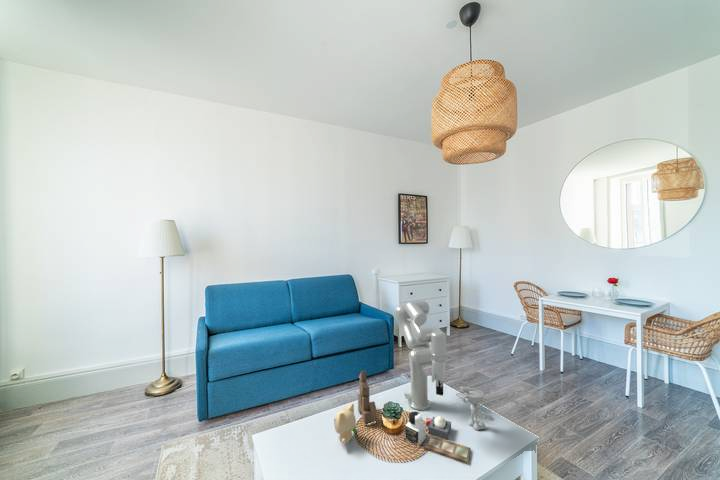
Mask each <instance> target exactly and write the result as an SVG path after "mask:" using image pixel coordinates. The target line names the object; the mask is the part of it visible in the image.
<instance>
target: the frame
mask: <svg viewBox="0 0 720 480" xmlns="http://www.w3.org/2000/svg"><path fill="white" fill-rule="evenodd" d="M429 437H430V434H429V433H426V439H425V440H424V442H423V446H422V447H421V448H425V446H426V444H427V442H428V439H429ZM425 449H426V448H425Z"/></svg>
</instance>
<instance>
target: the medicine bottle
mask: <svg viewBox="0 0 720 480" xmlns="http://www.w3.org/2000/svg"><path fill="white" fill-rule="evenodd" d="M426 428H427V427H426V423H424V422H423V416H422V414H421V413H420V412H418V411H411V412H410V413H408V422H406V424H405V430H404V433H405V434H406V439H407V440H409V441H411V442H412V443H411V442H410V443H411V444H413V443H414V444H413V445H415V444H416V445H418V446H419V447H420V445H422V443H424V442H425V441H426V438H427V436H426V434H427V433H426V432H427V429H426ZM406 439H405V440H406ZM407 440H406V441H407ZM409 441H408V442H409Z"/></svg>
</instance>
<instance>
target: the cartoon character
mask: <svg viewBox="0 0 720 480" xmlns="http://www.w3.org/2000/svg"><path fill="white" fill-rule="evenodd" d="M460 390H461V391H463V393H464V394H463V393H461V392H457V393H455V395H456V396H458V397H459V398H460V399H462V401H463V403H464V404H465V403H466V404H470V405H469V406H470V414H471V415H470V419H469V420H468V424H469V426H472V427H473V428H474V429H475V430H477V431H480V430H486V428H487V426H486V424H485V422H483V421H481V420H480V418H478V416H479V413H481V414H482V415H483V416H484V418H485V419H486V420H488V422H493V421H496V420H495V417H494V416H493V415H491V414H488V413H487V412H486V411H483V410H482V409H481V408H480V407H478V405H479V404H481V403H482V402H483V401H484V399H485V393H484V392H483V391H482V390H480V389H478V388H473V387H464V386H460Z"/></svg>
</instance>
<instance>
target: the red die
mask: <svg viewBox="0 0 720 480" xmlns="http://www.w3.org/2000/svg"><path fill="white" fill-rule="evenodd" d="M425 421H426V422H425V424H426V426H428V427H427V428H429V425H430V423H431V421H432V418H429V417H426V418H425Z"/></svg>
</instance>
